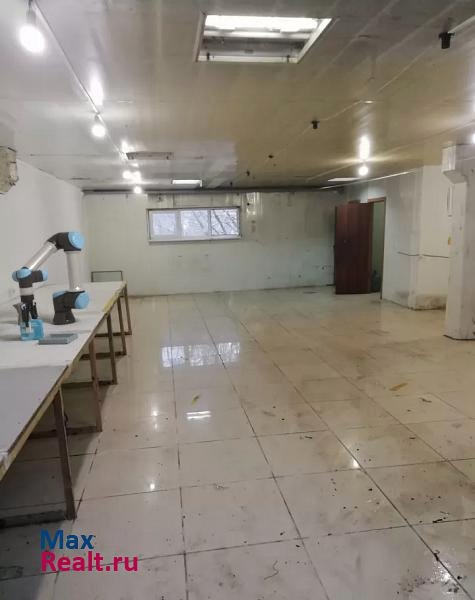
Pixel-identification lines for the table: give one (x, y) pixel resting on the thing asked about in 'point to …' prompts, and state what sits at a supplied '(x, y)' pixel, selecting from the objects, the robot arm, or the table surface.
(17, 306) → the coffeepot
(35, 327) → the data package
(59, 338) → the tray
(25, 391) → the table surface
